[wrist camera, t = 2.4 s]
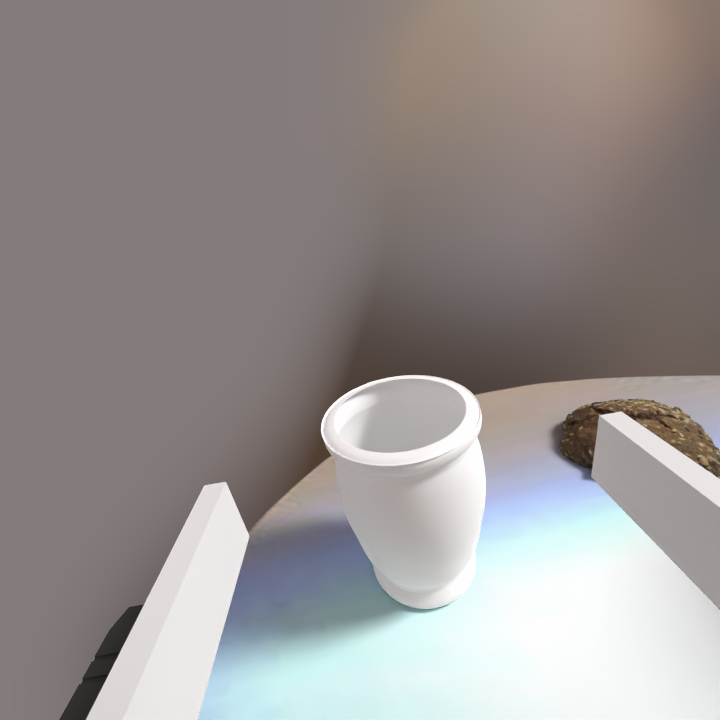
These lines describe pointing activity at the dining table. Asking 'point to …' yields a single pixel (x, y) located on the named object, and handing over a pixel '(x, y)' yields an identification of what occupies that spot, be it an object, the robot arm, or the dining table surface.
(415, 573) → the jar
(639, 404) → the bread roll
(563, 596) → the dining table surface
